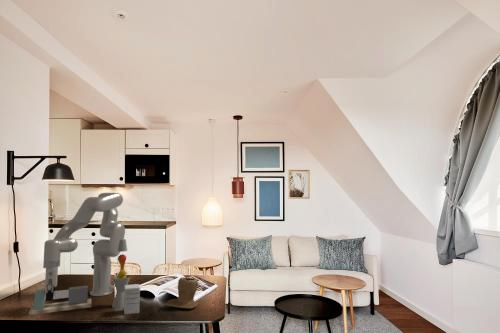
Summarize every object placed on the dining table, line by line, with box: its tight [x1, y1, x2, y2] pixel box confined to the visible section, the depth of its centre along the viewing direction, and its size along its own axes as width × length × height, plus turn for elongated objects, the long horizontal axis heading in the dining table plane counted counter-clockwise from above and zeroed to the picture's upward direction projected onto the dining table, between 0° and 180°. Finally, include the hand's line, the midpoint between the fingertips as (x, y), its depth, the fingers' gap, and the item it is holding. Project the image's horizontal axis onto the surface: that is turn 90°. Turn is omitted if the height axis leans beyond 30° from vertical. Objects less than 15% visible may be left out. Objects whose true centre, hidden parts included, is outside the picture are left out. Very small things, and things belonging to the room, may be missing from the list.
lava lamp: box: [111, 238, 131, 309], centre depth 182 cm, size 9×9×35 cm
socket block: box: [33, 288, 46, 310], centre depth 173 cm, size 4×7×8 cm, turn 26°
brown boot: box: [165, 276, 199, 310], centre depth 181 cm, size 15×12×15 cm
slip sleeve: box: [67, 285, 89, 306], centre depth 180 cm, size 9×5×8 cm, turn 116°
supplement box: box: [123, 283, 141, 315], centre depth 173 cm, size 7×7×13 cm
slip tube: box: [44, 289, 69, 301], centre depth 177 cm, size 16×3×3 cm, turn 116°
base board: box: [28, 298, 93, 316], centre depth 177 cm, size 28×10×2 cm, turn 116°
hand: (50, 297), depth 175 cm, fingers open, 9 cm apart
